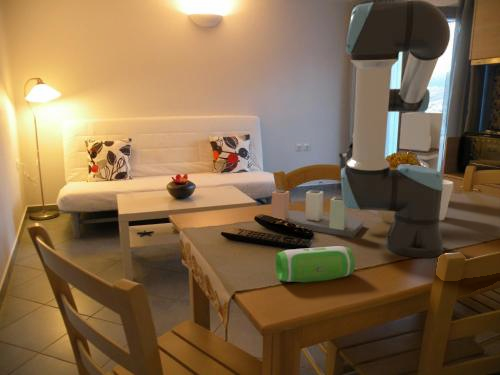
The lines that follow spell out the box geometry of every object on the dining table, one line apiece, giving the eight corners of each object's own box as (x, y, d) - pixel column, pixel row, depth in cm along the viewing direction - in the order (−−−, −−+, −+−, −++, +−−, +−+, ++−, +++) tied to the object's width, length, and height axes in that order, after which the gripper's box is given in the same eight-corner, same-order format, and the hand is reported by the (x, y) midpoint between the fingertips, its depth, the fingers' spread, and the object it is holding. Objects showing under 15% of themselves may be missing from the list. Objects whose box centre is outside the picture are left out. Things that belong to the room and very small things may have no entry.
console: (281, 214, 147) (281, 208, 147) (363, 226, 133) (363, 220, 132) (265, 223, 137) (265, 217, 137) (353, 237, 123) (353, 231, 122)
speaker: (282, 288, 91) (282, 257, 90) (274, 274, 98) (275, 246, 97) (355, 281, 95) (356, 251, 93) (342, 268, 101) (343, 240, 100)
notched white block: (395, 199, 166) (401, 113, 158) (407, 194, 173) (414, 112, 165) (422, 204, 158) (430, 114, 150) (434, 199, 165) (442, 113, 157)
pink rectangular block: (277, 215, 138) (277, 189, 136) (289, 217, 136) (289, 190, 134) (271, 218, 135) (271, 191, 132) (284, 220, 132) (284, 193, 130)
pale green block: (333, 224, 128) (334, 195, 126) (347, 226, 126) (348, 197, 124) (329, 227, 125) (330, 198, 123) (343, 230, 123) (344, 200, 120)
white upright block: (309, 215, 137) (310, 189, 135) (322, 217, 135) (323, 190, 133) (305, 218, 134) (306, 191, 132) (318, 220, 132) (319, 193, 130)
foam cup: (418, 219, 140) (421, 182, 137) (421, 212, 148) (424, 177, 145) (448, 223, 135) (453, 185, 132) (449, 215, 143) (453, 180, 140)
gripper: (382, 148, 140) (368, 205, 130) (345, 146, 147) (329, 201, 136) (380, 134, 135) (364, 193, 124) (342, 133, 141) (324, 189, 131)
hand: (346, 197), depth 130 cm, fingers closed
